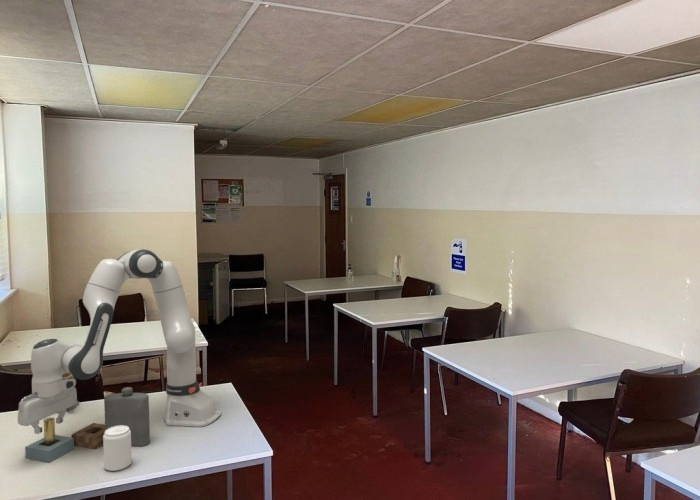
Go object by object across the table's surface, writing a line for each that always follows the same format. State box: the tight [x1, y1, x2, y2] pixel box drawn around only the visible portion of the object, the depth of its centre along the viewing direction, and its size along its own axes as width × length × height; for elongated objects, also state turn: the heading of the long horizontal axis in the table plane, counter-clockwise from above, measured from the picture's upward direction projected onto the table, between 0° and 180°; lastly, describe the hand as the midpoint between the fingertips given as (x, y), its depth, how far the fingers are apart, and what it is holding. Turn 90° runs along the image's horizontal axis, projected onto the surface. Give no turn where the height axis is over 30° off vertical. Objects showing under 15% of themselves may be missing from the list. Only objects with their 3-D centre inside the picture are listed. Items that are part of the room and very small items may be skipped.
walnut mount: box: [71, 422, 105, 450], centre depth 176 cm, size 10×10×4 cm
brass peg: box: [42, 417, 56, 446], centre depth 167 cm, size 3×3×12 cm
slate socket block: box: [24, 434, 75, 464], centre depth 167 cm, size 10×10×4 cm
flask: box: [103, 386, 151, 448], centre depth 174 cm, size 15×6×20 cm, turn 93°
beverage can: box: [102, 425, 133, 472], centre depth 159 cm, size 8×8×12 cm
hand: (49, 427), depth 166 cm, fingers open, 7 cm apart
